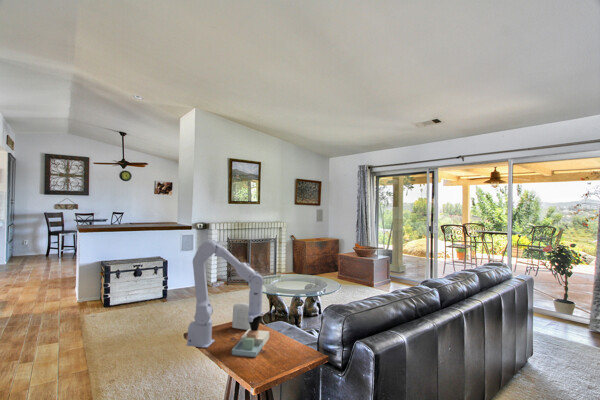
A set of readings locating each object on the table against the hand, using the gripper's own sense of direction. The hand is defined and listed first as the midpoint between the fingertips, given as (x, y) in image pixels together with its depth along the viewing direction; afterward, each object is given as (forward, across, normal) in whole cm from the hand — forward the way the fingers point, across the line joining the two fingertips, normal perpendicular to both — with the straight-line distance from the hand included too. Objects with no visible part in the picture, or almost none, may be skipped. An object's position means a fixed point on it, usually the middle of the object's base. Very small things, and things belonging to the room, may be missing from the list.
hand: (254, 333), depth 137 cm
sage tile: (+2, -6, 0) cm, 6 cm away
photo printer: (+4, +16, +11) cm, 20 cm away
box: (+4, -8, 0) cm, 9 cm away
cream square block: (+4, +2, 0) cm, 4 cm away
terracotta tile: (+1, -3, 0) cm, 3 cm away
